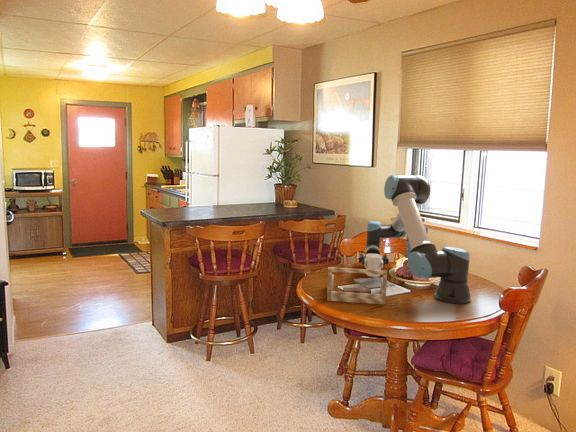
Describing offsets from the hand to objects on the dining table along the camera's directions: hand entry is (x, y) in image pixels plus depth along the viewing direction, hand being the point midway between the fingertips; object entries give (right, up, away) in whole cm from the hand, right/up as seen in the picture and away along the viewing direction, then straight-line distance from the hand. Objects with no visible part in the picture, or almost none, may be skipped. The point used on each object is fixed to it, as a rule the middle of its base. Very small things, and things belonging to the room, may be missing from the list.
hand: (373, 265), depth 232 cm
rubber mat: (+1, -9, +4) cm, 10 cm away
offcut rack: (-11, -12, -15) cm, 22 cm away
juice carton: (+28, -7, +28) cm, 40 cm away
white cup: (0, -6, +4) cm, 7 cm away
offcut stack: (-12, -13, -20) cm, 27 cm away
